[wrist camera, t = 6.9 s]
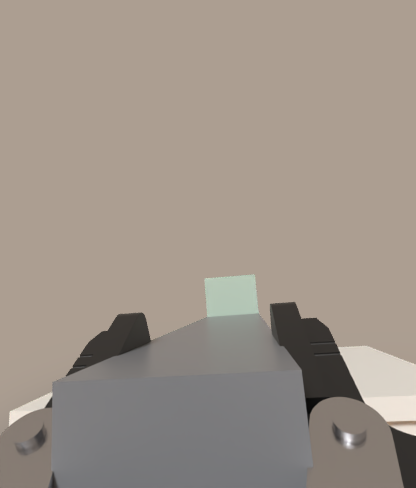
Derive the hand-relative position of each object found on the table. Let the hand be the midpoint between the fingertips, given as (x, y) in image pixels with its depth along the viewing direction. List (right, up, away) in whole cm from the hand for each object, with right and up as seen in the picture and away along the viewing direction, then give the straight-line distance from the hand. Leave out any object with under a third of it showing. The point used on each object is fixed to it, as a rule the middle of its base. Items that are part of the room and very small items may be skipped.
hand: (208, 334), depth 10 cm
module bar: (+1, -4, +7) cm, 8 cm away
